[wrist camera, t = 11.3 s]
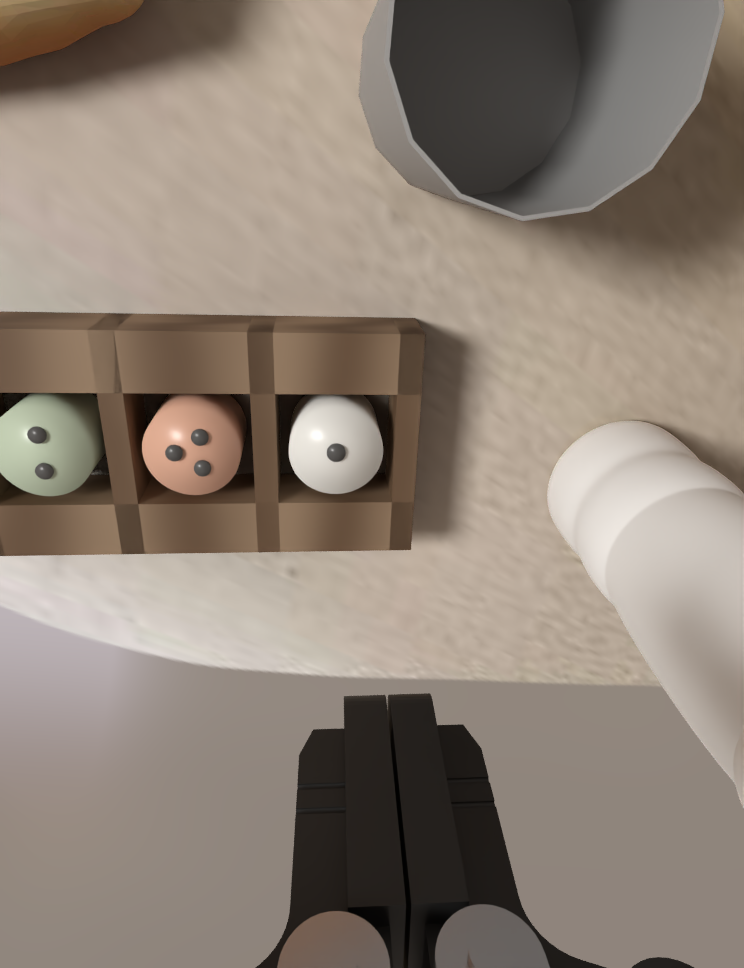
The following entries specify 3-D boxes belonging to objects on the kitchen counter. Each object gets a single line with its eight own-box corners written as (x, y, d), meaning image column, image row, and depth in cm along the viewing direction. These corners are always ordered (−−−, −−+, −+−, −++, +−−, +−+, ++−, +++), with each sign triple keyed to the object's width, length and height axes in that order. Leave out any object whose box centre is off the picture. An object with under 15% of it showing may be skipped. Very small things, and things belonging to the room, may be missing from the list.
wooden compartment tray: (415, 318, 29) (425, 334, 26) (402, 518, 33) (410, 549, 31) (-42, 310, 27) (-81, 327, 25) (9, 522, 32) (-19, 556, 29)
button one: (378, 384, 30) (385, 408, 27) (375, 465, 32) (381, 495, 29) (289, 384, 30) (287, 408, 27) (291, 465, 31) (289, 495, 29)
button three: (244, 384, 29) (237, 408, 27) (249, 465, 31) (242, 496, 28) (152, 383, 29) (135, 407, 26) (162, 466, 31) (147, 496, 28)
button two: (105, 383, 29) (83, 407, 26) (118, 466, 31) (98, 497, 28) (10, 382, 29) (-23, 407, 26) (28, 466, 30) (-1, 498, 27)
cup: (579, -73, 23) (745, -217, 14) (576, 181, 27) (707, 193, 18) (342, -39, 23) (360, -163, 14) (372, 211, 27) (402, 238, 18)
